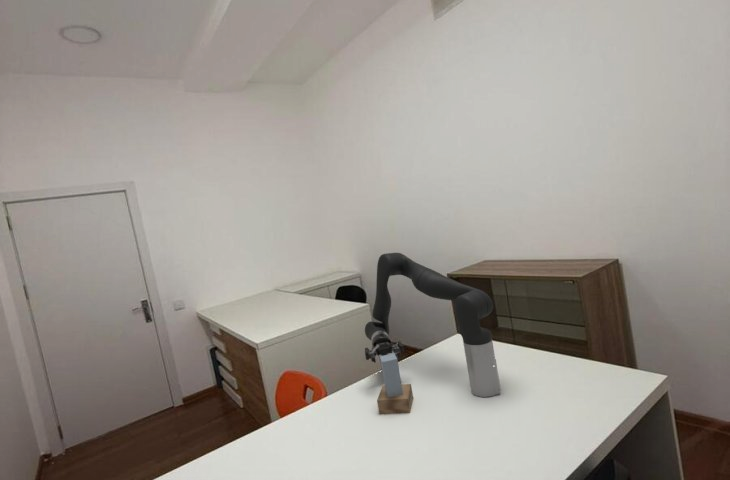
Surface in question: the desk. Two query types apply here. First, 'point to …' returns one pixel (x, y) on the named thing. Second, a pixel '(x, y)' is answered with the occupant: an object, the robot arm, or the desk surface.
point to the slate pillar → (391, 375)
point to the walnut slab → (395, 401)
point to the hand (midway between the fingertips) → (386, 357)
